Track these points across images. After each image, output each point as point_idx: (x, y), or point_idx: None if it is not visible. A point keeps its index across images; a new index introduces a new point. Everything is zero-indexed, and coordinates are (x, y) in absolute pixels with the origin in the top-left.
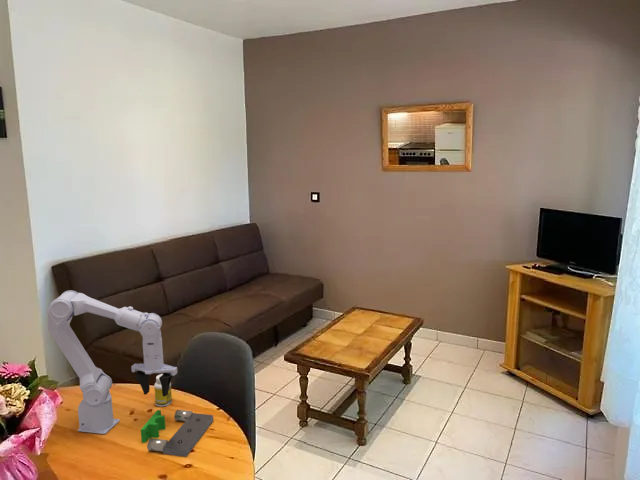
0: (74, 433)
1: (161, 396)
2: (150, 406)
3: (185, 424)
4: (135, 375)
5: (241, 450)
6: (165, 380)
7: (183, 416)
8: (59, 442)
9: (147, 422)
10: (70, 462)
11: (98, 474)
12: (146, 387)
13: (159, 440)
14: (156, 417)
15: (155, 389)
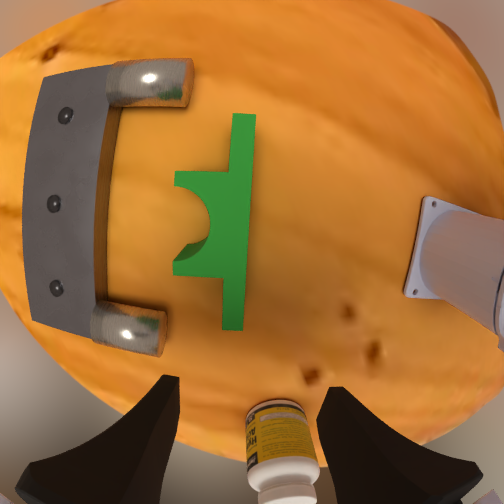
0: (490, 209)
1: (276, 430)
2: (317, 396)
3: (83, 250)
4: (477, 482)
5: None
6: (37, 468)
7: (116, 311)
8: (499, 163)
9: (245, 190)
10: (433, 52)
11: None
12: (340, 434)
13: (132, 72)
14: (212, 251)
15: (308, 453)
